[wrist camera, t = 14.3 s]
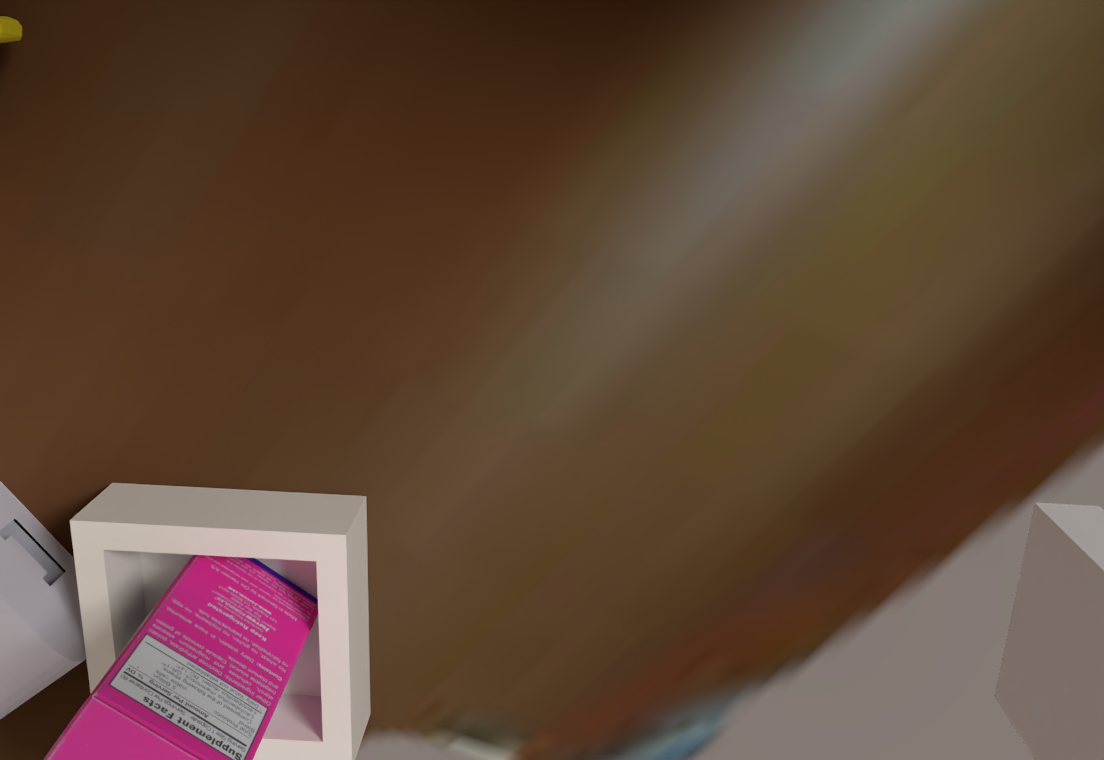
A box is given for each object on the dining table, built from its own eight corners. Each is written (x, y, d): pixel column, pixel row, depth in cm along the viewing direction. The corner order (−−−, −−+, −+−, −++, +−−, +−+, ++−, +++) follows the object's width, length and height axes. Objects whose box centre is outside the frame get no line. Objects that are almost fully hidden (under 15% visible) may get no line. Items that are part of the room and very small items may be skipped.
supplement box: (260, 692, 44) (151, 900, 33) (146, 620, 43) (-5, 809, 32) (331, 602, 42) (242, 789, 31) (214, 525, 41) (80, 689, 31)
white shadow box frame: (112, 482, 42) (69, 520, 38) (366, 496, 41) (346, 535, 38) (135, 700, 45) (97, 752, 42) (370, 713, 45) (352, 767, 41)
